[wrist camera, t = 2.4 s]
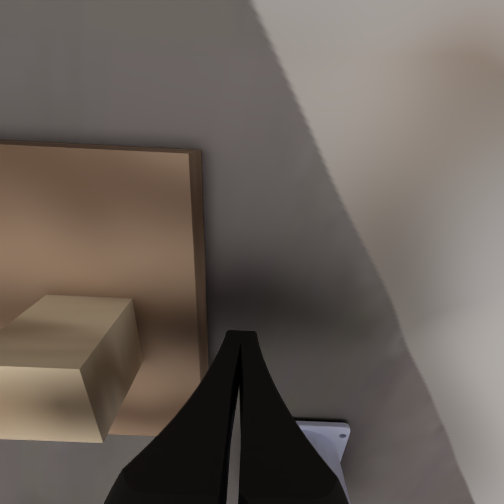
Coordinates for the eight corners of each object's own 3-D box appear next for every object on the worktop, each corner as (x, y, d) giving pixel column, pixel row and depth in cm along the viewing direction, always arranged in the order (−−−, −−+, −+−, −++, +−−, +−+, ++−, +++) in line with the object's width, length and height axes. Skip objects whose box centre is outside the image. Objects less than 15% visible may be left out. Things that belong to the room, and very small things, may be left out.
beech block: (143, 361, 14) (102, 443, 10) (67, 358, 14) (-1, 438, 10) (132, 298, 12) (79, 369, 8) (46, 294, 12) (-44, 363, 8)
